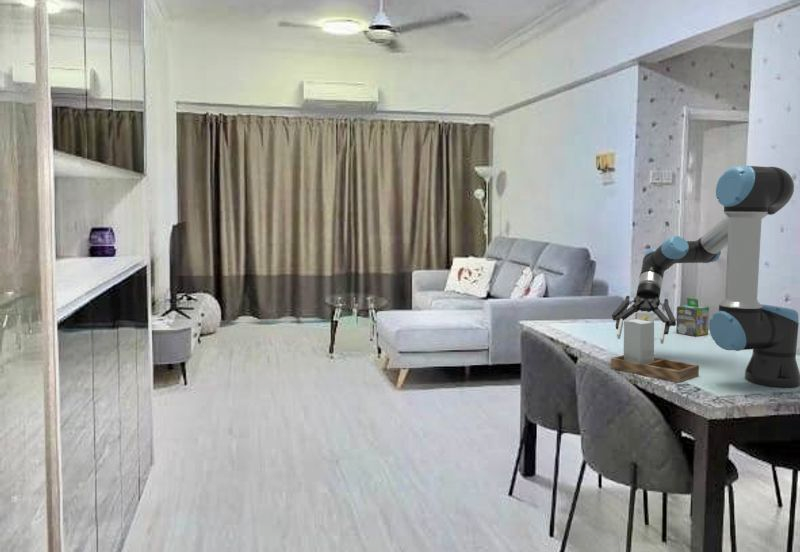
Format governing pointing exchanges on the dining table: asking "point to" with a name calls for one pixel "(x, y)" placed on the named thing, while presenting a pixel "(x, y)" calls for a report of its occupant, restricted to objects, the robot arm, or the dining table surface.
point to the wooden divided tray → (658, 368)
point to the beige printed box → (645, 316)
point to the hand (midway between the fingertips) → (639, 339)
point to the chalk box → (692, 319)
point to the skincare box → (639, 341)
